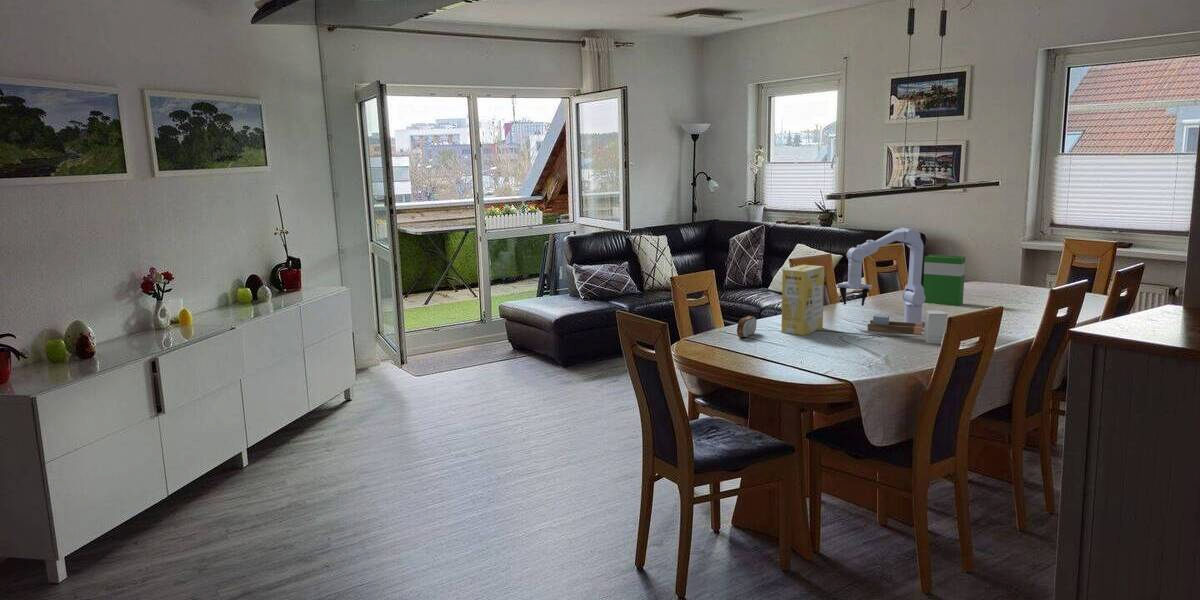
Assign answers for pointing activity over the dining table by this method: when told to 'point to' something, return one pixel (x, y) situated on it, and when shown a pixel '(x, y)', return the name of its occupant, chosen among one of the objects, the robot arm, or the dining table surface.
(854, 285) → the robot arm
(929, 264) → the hardback book
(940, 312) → the supplement box
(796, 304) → the pasta box
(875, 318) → the block
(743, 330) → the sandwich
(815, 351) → the dining table surface
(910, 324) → the brown wooden rails
